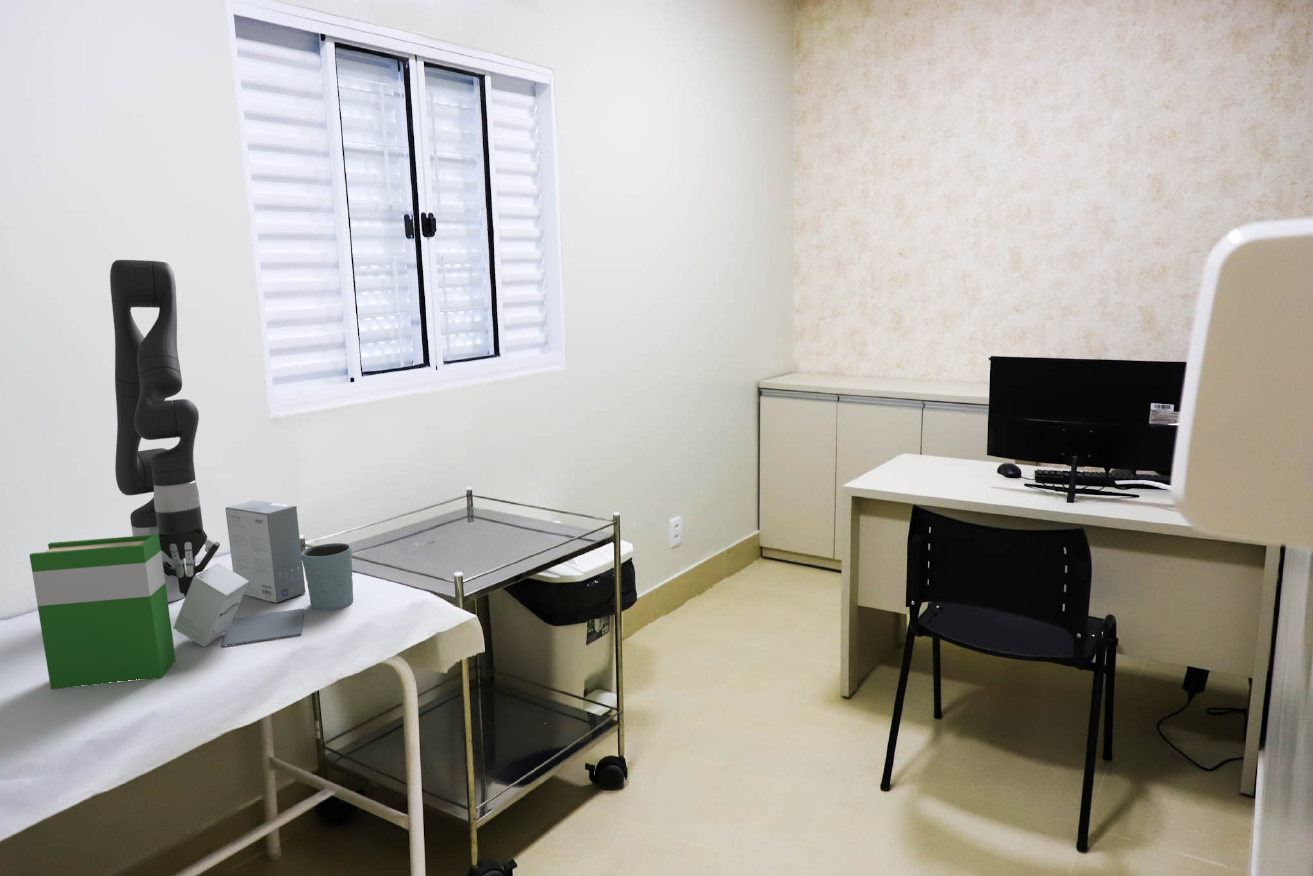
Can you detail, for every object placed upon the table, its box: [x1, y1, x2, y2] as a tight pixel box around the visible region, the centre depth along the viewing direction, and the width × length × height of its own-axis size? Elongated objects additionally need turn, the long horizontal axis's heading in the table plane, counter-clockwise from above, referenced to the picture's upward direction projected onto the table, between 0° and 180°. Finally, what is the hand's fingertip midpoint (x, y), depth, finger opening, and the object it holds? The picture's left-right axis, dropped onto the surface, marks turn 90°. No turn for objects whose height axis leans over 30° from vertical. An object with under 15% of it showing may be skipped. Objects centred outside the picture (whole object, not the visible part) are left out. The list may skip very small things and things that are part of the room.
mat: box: [221, 607, 305, 647], centre depth 181 cm, size 15×14×1 cm
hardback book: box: [29, 534, 177, 690], centre depth 158 cm, size 18×7×24 cm, turn 100°
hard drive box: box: [225, 500, 307, 603], centre depth 200 cm, size 16×8×20 cm, turn 58°
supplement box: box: [172, 562, 249, 647], centre depth 173 cm, size 7×7×13 cm
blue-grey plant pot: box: [301, 542, 354, 611], centre depth 192 cm, size 10×10×12 cm
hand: (188, 594), depth 173 cm, fingers closed
